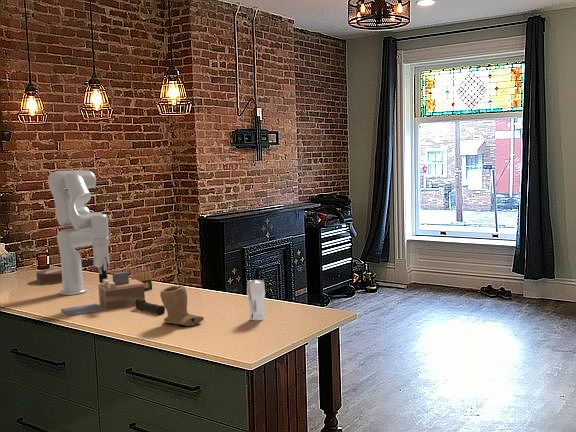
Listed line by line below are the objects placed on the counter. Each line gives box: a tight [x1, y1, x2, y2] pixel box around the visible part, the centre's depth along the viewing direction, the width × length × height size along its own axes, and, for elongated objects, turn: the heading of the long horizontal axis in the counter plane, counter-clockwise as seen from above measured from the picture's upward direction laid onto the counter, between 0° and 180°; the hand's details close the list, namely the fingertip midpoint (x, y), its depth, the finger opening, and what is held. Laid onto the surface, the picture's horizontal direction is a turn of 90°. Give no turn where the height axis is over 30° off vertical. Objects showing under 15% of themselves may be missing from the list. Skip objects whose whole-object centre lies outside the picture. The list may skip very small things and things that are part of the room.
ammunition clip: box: [130, 265, 153, 292], centre depth 309 cm, size 11×2×12 cm, turn 130°
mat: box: [60, 303, 105, 317], centre depth 274 cm, size 14×15×1 cm
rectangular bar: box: [101, 278, 116, 290], centre depth 275 cm, size 14×2×2 cm, turn 32°
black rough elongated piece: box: [135, 299, 166, 316], centre depth 268 cm, size 19×4×5 cm, turn 44°
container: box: [36, 267, 63, 285], centre depth 346 cm, size 20×20×6 cm
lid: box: [97, 271, 144, 291], centre depth 282 cm, size 12×17×7 cm
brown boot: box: [160, 284, 205, 327], centre depth 245 cm, size 15×12×15 cm
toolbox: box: [98, 286, 146, 311], centre depth 283 cm, size 12×17×8 cm
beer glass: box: [246, 279, 266, 322], centre depth 248 cm, size 7×7×15 cm
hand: (103, 282), depth 283 cm, fingers closed
